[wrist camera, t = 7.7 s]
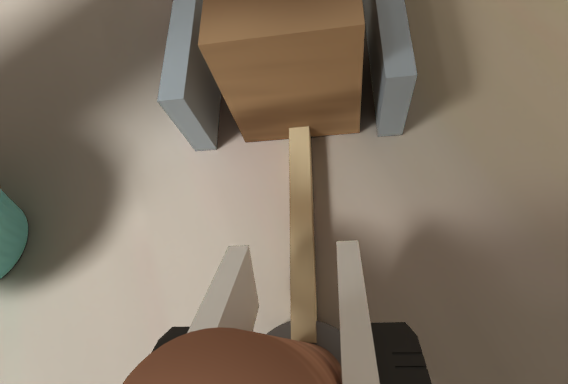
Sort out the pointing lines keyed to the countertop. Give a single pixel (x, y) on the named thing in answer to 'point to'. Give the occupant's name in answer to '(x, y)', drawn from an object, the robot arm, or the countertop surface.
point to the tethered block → (298, 129)
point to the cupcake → (11, 233)
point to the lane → (206, 94)
